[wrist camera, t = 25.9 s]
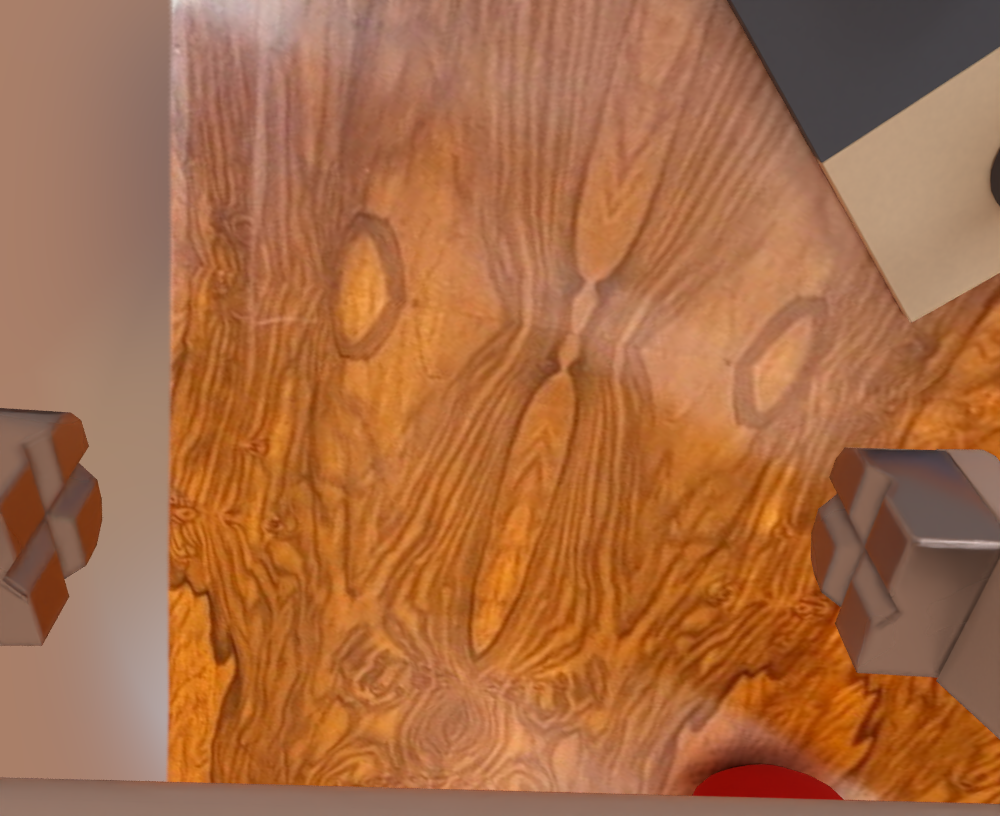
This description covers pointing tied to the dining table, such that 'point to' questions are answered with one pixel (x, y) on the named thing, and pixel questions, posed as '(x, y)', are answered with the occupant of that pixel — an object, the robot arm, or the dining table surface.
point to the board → (897, 127)
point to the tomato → (765, 784)
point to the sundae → (996, 179)
